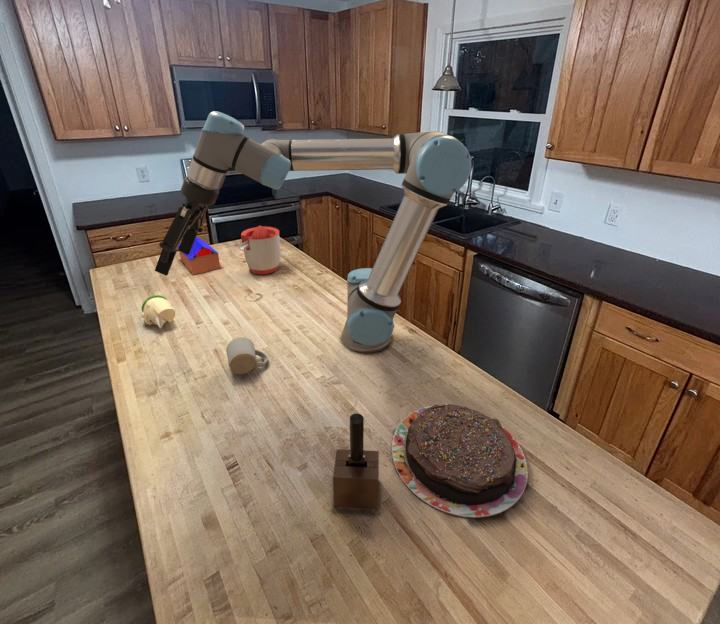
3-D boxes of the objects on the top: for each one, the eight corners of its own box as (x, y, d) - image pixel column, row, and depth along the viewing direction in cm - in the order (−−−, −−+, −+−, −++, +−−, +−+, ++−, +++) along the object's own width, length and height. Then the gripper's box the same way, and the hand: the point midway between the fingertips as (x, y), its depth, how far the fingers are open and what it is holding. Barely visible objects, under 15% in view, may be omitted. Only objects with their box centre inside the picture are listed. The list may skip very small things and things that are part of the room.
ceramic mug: (231, 379, 104) (227, 356, 101) (227, 361, 111) (224, 339, 108) (270, 370, 108) (268, 347, 105) (265, 353, 115) (263, 331, 112)
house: (193, 275, 163) (188, 249, 158) (180, 260, 177) (175, 236, 172) (221, 268, 170) (217, 243, 165) (206, 254, 184) (202, 230, 179)
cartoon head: (164, 341, 124) (145, 315, 138) (187, 320, 127) (166, 296, 140) (143, 327, 118) (126, 301, 132) (168, 305, 121) (148, 281, 134)
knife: (348, 498, 73) (347, 423, 65) (349, 486, 75) (348, 412, 67) (364, 499, 73) (365, 424, 65) (364, 487, 75) (365, 413, 67)
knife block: (334, 510, 72) (332, 477, 68) (337, 481, 77) (336, 448, 73) (377, 513, 71) (378, 479, 68) (377, 483, 77) (378, 450, 73)
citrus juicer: (235, 270, 168) (229, 225, 160) (270, 259, 179) (266, 217, 170) (253, 281, 158) (247, 235, 149) (289, 269, 168) (286, 225, 160)
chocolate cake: (388, 406, 96) (389, 385, 93) (503, 409, 95) (507, 388, 92) (394, 520, 70) (395, 495, 67) (550, 525, 69) (558, 501, 67)
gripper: (204, 167, 97) (177, 239, 104) (163, 184, 74) (131, 275, 81) (233, 181, 99) (204, 251, 106) (201, 202, 76) (167, 290, 83)
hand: (173, 261), depth 93 cm, fingers open, 13 cm apart
